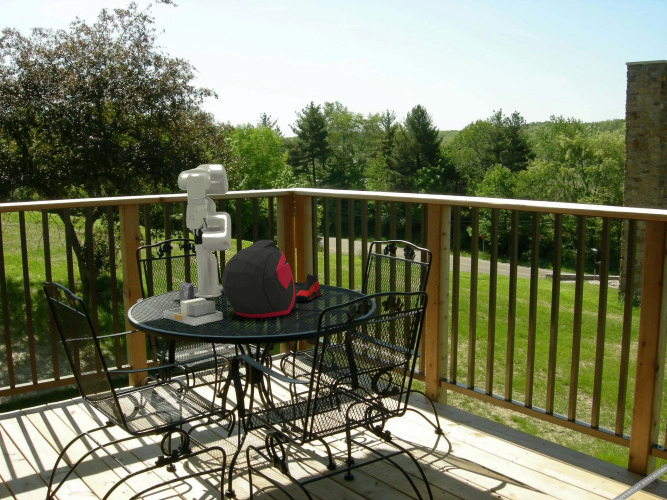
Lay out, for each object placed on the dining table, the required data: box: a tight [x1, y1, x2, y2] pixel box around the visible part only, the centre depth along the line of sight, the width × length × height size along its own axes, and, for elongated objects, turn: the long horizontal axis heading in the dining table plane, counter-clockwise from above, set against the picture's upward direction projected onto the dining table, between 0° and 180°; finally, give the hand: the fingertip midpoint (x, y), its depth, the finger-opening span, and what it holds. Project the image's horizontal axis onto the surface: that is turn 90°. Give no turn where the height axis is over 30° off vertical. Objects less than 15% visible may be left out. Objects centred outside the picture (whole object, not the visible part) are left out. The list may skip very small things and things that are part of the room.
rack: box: [162, 300, 224, 327], centre depth 269 cm, size 22×14×8 cm, turn 47°
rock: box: [178, 282, 195, 305], centre depth 295 cm, size 10×6×10 cm, turn 48°
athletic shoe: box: [294, 273, 323, 302], centre depth 304 cm, size 8×20×12 cm, turn 156°
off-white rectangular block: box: [179, 297, 207, 315], centre depth 270 cm, size 4×10×7 cm, turn 137°
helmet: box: [220, 239, 296, 319], centre depth 277 cm, size 26×32×30 cm
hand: (198, 244), depth 284 cm, fingers closed
